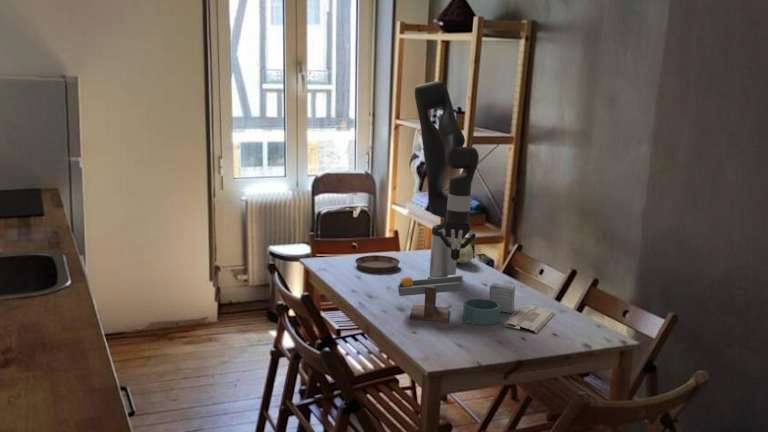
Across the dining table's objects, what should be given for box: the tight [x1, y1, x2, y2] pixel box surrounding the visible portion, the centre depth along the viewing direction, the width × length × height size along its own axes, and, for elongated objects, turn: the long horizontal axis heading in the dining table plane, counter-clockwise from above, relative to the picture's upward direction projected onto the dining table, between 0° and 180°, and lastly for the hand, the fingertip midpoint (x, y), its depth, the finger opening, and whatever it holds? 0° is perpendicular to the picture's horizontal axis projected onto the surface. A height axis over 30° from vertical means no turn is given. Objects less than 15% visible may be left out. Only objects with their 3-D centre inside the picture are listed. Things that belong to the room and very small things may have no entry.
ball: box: [401, 276, 414, 288], centre depth 229 cm, size 4×4×4 cm
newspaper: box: [503, 304, 556, 334], centre depth 229 cm, size 23×12×2 cm, turn 152°
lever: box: [397, 273, 464, 297], centre depth 232 cm, size 15×20×5 cm
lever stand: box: [409, 276, 450, 323], centre depth 229 cm, size 11×12×11 cm
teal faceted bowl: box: [462, 297, 501, 326], centre depth 228 cm, size 11×12×5 cm
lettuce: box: [456, 237, 474, 264], centre depth 292 cm, size 12×21×11 cm, turn 21°
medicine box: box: [488, 282, 516, 314], centre depth 236 cm, size 8×4×9 cm, turn 71°
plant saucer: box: [354, 254, 400, 273], centre depth 281 cm, size 18×18×3 cm
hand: (455, 259), depth 234 cm, fingers closed
